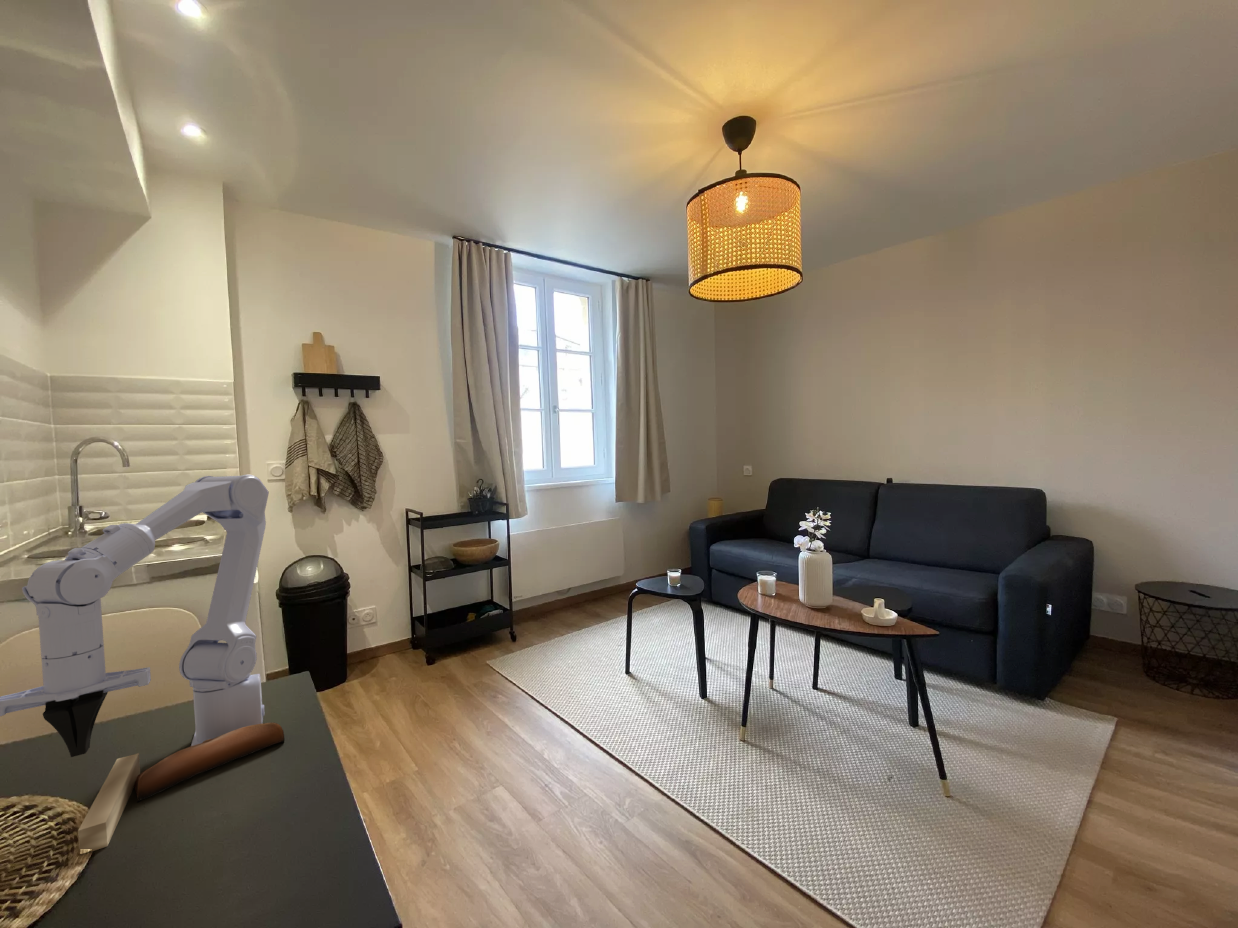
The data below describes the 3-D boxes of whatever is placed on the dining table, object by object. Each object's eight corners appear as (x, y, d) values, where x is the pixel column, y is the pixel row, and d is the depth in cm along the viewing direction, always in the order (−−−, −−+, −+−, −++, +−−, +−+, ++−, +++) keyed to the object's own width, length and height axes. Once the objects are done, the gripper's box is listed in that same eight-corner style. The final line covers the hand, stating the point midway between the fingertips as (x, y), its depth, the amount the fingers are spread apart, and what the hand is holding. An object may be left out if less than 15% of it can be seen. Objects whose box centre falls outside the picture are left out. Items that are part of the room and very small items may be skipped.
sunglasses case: (267, 726, 90) (272, 699, 88) (281, 759, 86) (287, 731, 84) (125, 781, 76) (127, 750, 74) (135, 822, 72) (137, 791, 70)
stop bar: (140, 772, 78) (138, 752, 78) (107, 845, 63) (105, 821, 63) (118, 778, 77) (117, 758, 77) (79, 855, 62) (78, 830, 62)
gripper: (-25, 675, 61) (-16, 788, 62) (140, 646, 69) (147, 746, 70) (1, 657, 67) (9, 760, 68) (151, 631, 75) (157, 724, 76)
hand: (80, 751), depth 69 cm, fingers closed
